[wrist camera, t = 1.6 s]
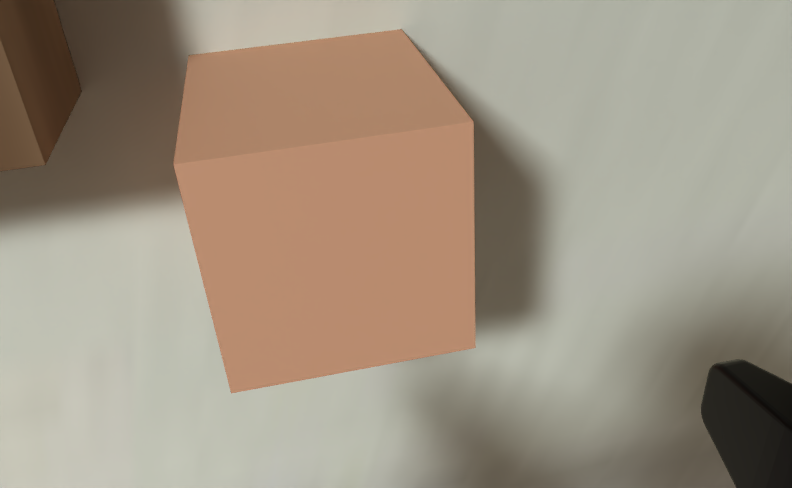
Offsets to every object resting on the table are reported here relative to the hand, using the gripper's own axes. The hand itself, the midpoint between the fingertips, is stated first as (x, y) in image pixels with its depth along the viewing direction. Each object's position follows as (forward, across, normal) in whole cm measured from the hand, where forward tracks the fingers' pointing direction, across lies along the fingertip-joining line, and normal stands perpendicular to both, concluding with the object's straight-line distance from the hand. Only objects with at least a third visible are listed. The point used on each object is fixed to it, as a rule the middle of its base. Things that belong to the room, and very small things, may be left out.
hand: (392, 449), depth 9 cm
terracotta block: (+10, 0, 0) cm, 11 cm away
